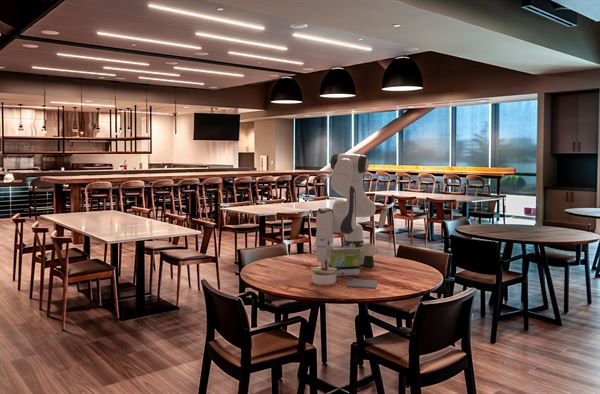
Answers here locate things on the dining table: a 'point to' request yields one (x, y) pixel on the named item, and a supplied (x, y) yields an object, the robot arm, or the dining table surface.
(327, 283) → the bowl
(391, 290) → the dining table surface
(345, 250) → the tea box
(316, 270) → the lid
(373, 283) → the mat
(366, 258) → the character mug
